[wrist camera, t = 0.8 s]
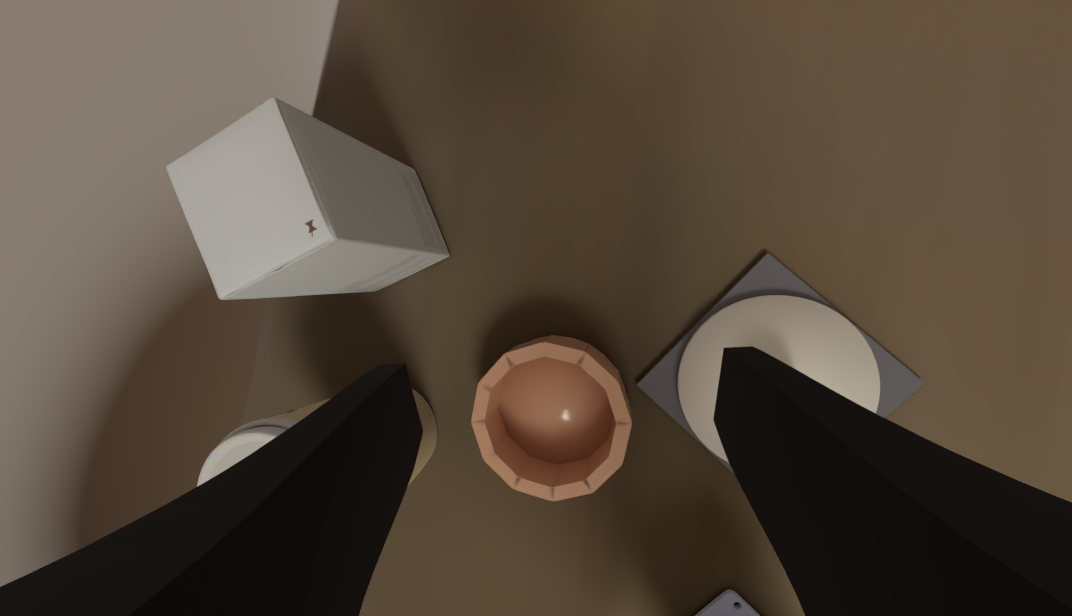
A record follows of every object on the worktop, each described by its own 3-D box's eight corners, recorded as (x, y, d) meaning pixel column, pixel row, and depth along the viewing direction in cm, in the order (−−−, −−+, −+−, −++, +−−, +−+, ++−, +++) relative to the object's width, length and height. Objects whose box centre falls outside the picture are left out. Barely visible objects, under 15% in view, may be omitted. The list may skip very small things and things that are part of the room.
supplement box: (416, 166, 30) (276, 88, 18) (452, 257, 30) (337, 243, 18) (338, 207, 32) (158, 162, 19) (372, 294, 32) (214, 304, 19)
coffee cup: (356, 355, 32) (207, 399, 20) (461, 394, 31) (364, 466, 19) (331, 459, 33) (176, 558, 22) (431, 502, 32) (322, 633, 20)
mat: (920, 381, 24) (925, 383, 24) (771, 507, 27) (774, 510, 26) (765, 253, 26) (768, 252, 25) (636, 383, 28) (636, 385, 28)
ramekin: (657, 403, 28) (664, 424, 24) (562, 496, 30) (554, 529, 26) (551, 307, 29) (541, 311, 25) (466, 402, 31) (444, 421, 27)
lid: (919, 383, 24) (981, 404, 20) (773, 506, 26) (802, 548, 22) (768, 257, 25) (797, 252, 21) (640, 384, 27) (644, 403, 23)
